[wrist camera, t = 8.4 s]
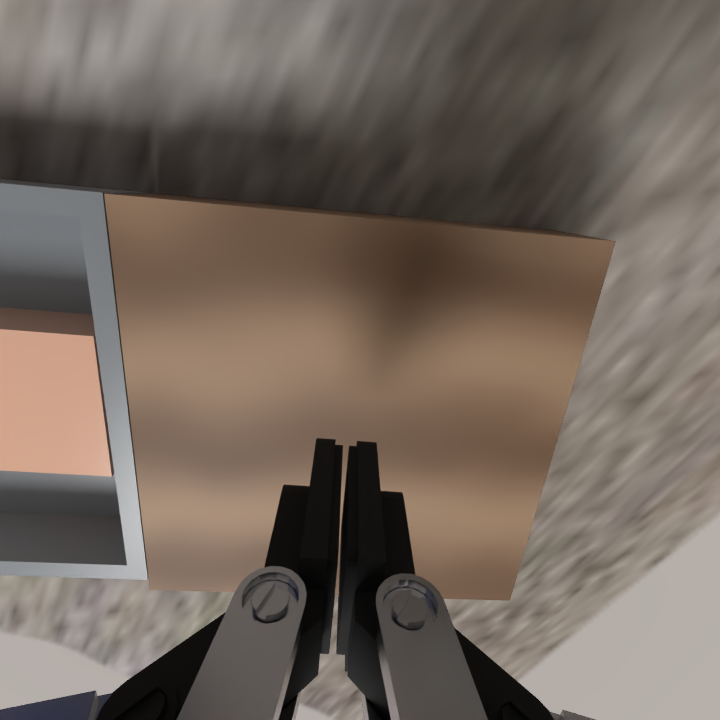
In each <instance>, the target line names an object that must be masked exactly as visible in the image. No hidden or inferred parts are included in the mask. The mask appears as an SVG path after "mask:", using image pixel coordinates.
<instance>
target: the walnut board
mask: <svg viewBox="0 0 720 720" xmlns="http://www.w3.org/2000/svg"><path fill="white" fill-rule="evenodd" d="M104 196H105V205H106V213H107V222H108V231H109V239H110V248H111V257H112V265H113V274H114V283H115V291H116V300H117V309H118V317H119V326H120V334H121V343H122V352H123V360H124V369H125V378H126V386H127V395H128V404H129V412H130V421H131V430H132V438H133V447H134V456H135V464H136V473H137V481H138V490H139V499H140V507H141V516H142V525H143V533H144V542H145V551H146V559H147V568H148V577H149V585H150V590H176V591H209V592H235V591H236V589H237V588H238V586H239V584H240V583H241V581H242V580H243V579H244V578H246V577H247V576H248V575H249V574H250V573H252V572H254V571H256V570H258V569H260V568H264V566H265V562H266V557H267V553H268V549H269V544H270V540H271V535H272V531H273V527H274V522H275V518H276V513H277V509H278V505H279V500H280V496H281V491H282V488H283V485H299V486H310V479H311V472H312V465H313V458H314V451H315V444H316V438H323V439H336V443H335V445H343V458H342V482H341V506H340V530H339V553H338V567H337V577H336V587H335V595H339V570H340V543H341V523H342V512H343V502H344V492H345V482H346V471H347V461H348V451H349V446H356V444H357V441H366V442H376V443H377V452H378V464H379V476H380V489H381V491H392V492H402V493H403V496H404V502H405V509H406V515H407V522H408V529H409V535H410V542H411V549H412V555H413V562H414V568H415V575H417V576H420V577H422V578H424V579H426V580H427V581H429V582H430V583H432V584H433V585H434V586H435V587H436V589H437V590H438V591H439V592H440V594H441V596H442V598H444V599H477V600H510V598H511V594H512V591H513V588H514V584H515V581H516V578H517V574H518V571H519V567H520V564H521V561H522V557H523V554H524V550H525V547H526V544H527V540H528V537H529V533H530V530H531V527H532V523H533V520H534V517H535V513H536V510H537V506H538V503H539V500H540V496H541V493H542V489H543V486H544V483H545V479H546V476H547V473H548V469H549V466H550V462H551V459H552V456H553V452H554V449H555V445H556V442H557V439H558V435H559V432H560V428H561V425H562V422H563V418H564V415H565V412H566V408H567V405H568V401H569V398H570V395H571V391H572V388H573V384H574V381H575V378H576V374H577V371H578V368H579V364H580V361H581V357H582V354H583V351H584V347H585V344H586V340H587V337H588V334H589V330H590V327H591V323H592V320H593V317H594V313H595V310H596V307H597V303H598V300H599V296H600V293H601V290H602V286H603V283H604V279H605V276H606V273H607V269H608V266H609V263H610V259H611V256H612V252H613V249H614V246H615V242H616V241H611V240H606V239H600V238H594V237H589V236H583V235H577V234H571V233H566V232H560V231H551V230H541V229H530V228H519V227H509V226H498V225H487V224H477V223H466V222H456V221H445V220H434V219H424V218H413V217H402V216H392V215H381V214H370V213H360V212H349V211H339V210H328V209H317V208H307V207H296V206H285V205H275V204H264V203H253V202H243V201H232V200H221V199H211V198H200V197H190V196H179V195H168V194H104Z"/></svg>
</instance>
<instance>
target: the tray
mask: <svg viewBox="0 0 720 720" xmlns="http://www.w3.org/2000/svg"><path fill="white" fill-rule="evenodd" d="M104 194H150V193H147V192H136V191H126V190H115V189H104V188H94V187H83V186H72V185H62V184H51V183H41V182H30V181H19V180H9V179H0V307H4V308H17V309H29V310H41V311H54V312H66V313H78V314H91V315H93V321H94V329H95V336H96V343H97V351H98V358H99V365H100V372H101V380H102V387H103V394H104V401H105V409H106V416H107V423H108V430H109V438H110V445H111V452H112V459H113V467H114V474H113V476H112V477H111V476H93V475H75V474H56V473H38V472H19V471H1V470H0V575H12V576H44V577H76V578H108V579H139V580H148V578H149V577H148V568H147V559H146V551H145V542H144V533H143V525H142V516H141V507H140V499H139V490H138V481H137V473H136V464H135V456H134V447H133V438H132V430H131V421H130V412H129V404H128V395H127V386H126V378H125V369H124V360H123V352H122V343H121V334H120V326H119V317H118V309H117V300H116V291H115V283H114V274H113V265H112V257H111V248H110V239H109V231H108V222H107V213H106V205H105V196H104Z"/></svg>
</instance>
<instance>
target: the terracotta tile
mask: <svg viewBox="0 0 720 720" xmlns="http://www.w3.org/2000/svg"><path fill="white" fill-rule="evenodd" d="M0 470H1V471H19V472H38V473H56V474H75V475H93V476H111V477H112V476H113V474H114V467H113V459H112V452H111V445H110V438H109V430H108V423H107V416H106V409H105V401H104V394H103V387H102V380H101V372H100V365H99V358H98V351H97V343H96V336H95V329H94V321H93V315H91V314H78V313H66V312H54V311H41V310H29V309H17V308H4V307H0Z"/></svg>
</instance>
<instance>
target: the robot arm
mask: <svg viewBox="0 0 720 720" xmlns="http://www.w3.org/2000/svg"><path fill="white" fill-rule="evenodd" d="M335 443H336V439H323V438H316V444H315V451H314V458H313V465H312V472H311V479H310V486H299V485H283V488H282V491H281V496H280V500H279V505H278V509H277V513H276V518H275V522H274V527H273V531H272V535H271V540H270V544H269V549H268V553H267V557H266V562H265V566H264V568H260V569H258V570H256V571H254V572H252V573H250V574H249V575H248V576H247V577H246V578H244V579H243V580H242V581H241V583H240V584H239V586H238V588H237V589H236V591H235V593H234V595H233V598H232V600H231V602H230V604H229V606H228V609H227V611H226V612H225V613H224V614H222V615H221V616H220V617H218V618H217V619H215V620H214V621H212V622H211V623H209V624H208V625H207V626H205V627H204V628H202V629H201V630H199V631H198V632H196V633H195V634H194V635H192V636H191V637H189V638H188V639H186V640H185V641H184V642H182V643H181V644H179V645H178V646H176V647H175V648H173V649H172V650H171V651H169V652H168V653H166V654H165V655H163V656H162V657H160V658H159V659H158V660H156V661H155V662H153V663H152V664H150V665H149V666H147V667H146V668H145V669H143V670H142V671H140V672H139V673H137V674H136V675H134V676H133V677H132V678H130V679H129V680H127V681H126V682H125V683H124V684H122V685H121V686H120V687H119V688H118V689H117V690H115V691H114V692H113V693H111V694H106V695H101V696H97V693H96V691H92V692H86V693H81V694H76V695H71V696H66V697H61V698H56V699H52V700H47V701H41V702H36V703H31V704H26V705H21V706H17V707H11V708H7V709H2V710H0V720H295V718H296V714H297V709H298V705H299V701H300V693H301V690H302V689H304V688H305V687H306V686H307V685H308V684H309V683H310V682H311V681H312V680H313V679H314V678H315V677H316V676H317V675H318V669H319V657H320V654H329V648H330V638H331V628H332V618H333V608H334V598H335V587H336V577H337V567H338V553H339V530H340V506H341V482H342V458H343V445H335ZM337 654H341V655H345V671H348V677H349V678H350V679H351V680H352V682H353V683H354V684H355V685H356V686H357V687H358V688H359V689H360V691H361V704H362V711H363V718H364V720H595V719H591V718H588V717H585V716H582V715H578V714H575V713H572V712H568V711H565V710H563V711H562V712H561V714H560V715H559V714H555V713H552V712H549V710H547V708H546V707H545V706H544V705H543V704H542V703H541V702H540V701H539V700H538V699H537V698H536V697H535V696H533V695H532V694H531V693H530V692H529V691H528V690H527V689H525V688H524V687H523V686H522V685H521V684H520V683H518V682H517V681H516V680H515V679H514V678H513V677H511V676H510V675H509V674H508V673H507V672H505V671H504V670H503V669H502V668H501V667H500V666H498V665H497V664H496V663H495V662H494V661H493V660H491V659H490V658H489V657H488V656H487V655H486V654H484V653H483V652H482V651H481V650H480V649H479V648H477V647H476V646H475V645H474V644H473V643H472V642H470V641H469V640H468V639H467V638H466V637H465V636H463V635H462V634H461V633H460V632H459V631H458V630H456V629H455V628H454V626H453V624H452V621H451V618H450V615H449V613H448V610H447V607H446V604H445V602H444V600H443V598H442V596H441V594H440V592H439V591H438V590H437V589H436V587H435V586H434V585H433V584H432V583H430V582H429V581H427V580H426V579H424V578H422V577H420V576H417V575H415V568H414V562H413V555H412V549H411V542H410V535H409V529H408V522H407V515H406V509H405V502H404V496H403V493H402V492H392V491H381V489H380V476H379V464H378V452H377V443H376V442H366V441H357V444H356V446H349V451H348V461H347V471H346V482H345V492H344V502H343V512H342V523H341V543H340V570H339V597H338V623H337Z"/></svg>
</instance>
